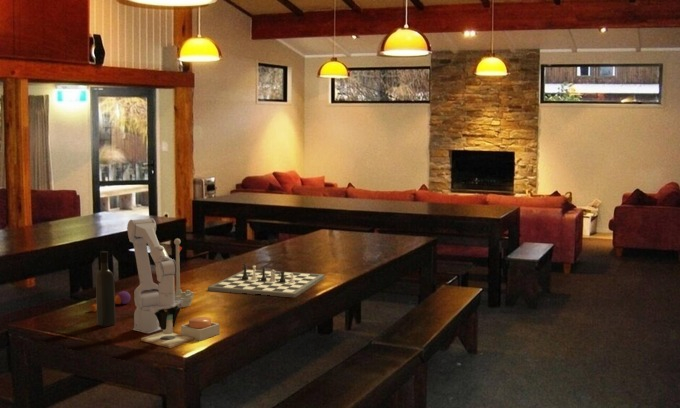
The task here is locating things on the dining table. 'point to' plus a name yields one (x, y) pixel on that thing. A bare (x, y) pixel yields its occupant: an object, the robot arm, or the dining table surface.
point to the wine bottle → (105, 293)
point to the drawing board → (167, 339)
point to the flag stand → (179, 294)
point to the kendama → (116, 300)
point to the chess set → (267, 282)
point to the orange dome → (200, 322)
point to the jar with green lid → (169, 324)
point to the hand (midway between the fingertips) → (167, 327)
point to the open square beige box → (200, 331)
